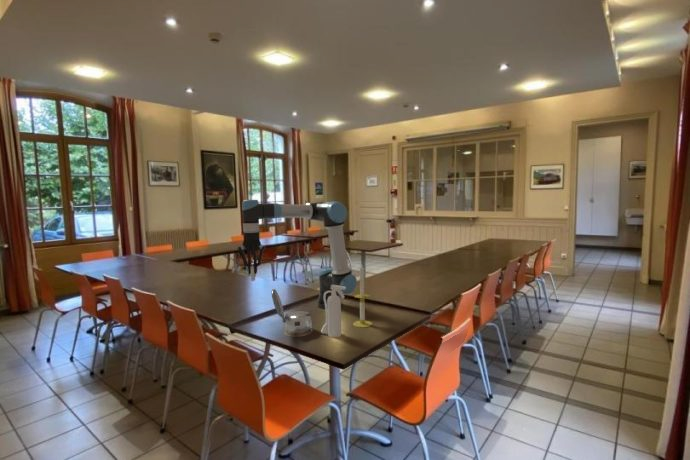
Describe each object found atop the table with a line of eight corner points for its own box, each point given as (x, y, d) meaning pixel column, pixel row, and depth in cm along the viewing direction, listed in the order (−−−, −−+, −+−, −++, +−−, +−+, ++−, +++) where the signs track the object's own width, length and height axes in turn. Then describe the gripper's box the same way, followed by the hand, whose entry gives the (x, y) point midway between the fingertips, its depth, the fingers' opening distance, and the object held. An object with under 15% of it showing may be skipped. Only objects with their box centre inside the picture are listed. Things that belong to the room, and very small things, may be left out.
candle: (349, 323, 190) (348, 262, 187) (363, 319, 196) (363, 260, 193) (361, 329, 182) (360, 265, 179) (376, 324, 187) (375, 263, 185)
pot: (311, 323, 189) (311, 309, 188) (311, 337, 170) (311, 320, 170) (285, 325, 187) (284, 310, 187) (281, 338, 169) (281, 322, 169)
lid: (275, 286, 183) (271, 287, 183) (272, 293, 169) (267, 294, 169) (285, 312, 185) (281, 314, 185) (282, 321, 171) (278, 323, 171)
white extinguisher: (323, 331, 179) (323, 282, 176) (346, 334, 175) (347, 284, 172) (318, 336, 172) (318, 286, 169) (342, 340, 169) (342, 288, 166)
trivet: (312, 326, 186) (312, 325, 186) (312, 336, 173) (312, 335, 173) (285, 327, 185) (285, 326, 185) (283, 338, 171) (283, 337, 171)
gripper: (266, 230, 177) (267, 278, 179) (239, 231, 176) (241, 278, 178) (263, 232, 170) (265, 281, 172) (235, 232, 169) (237, 282, 171)
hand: (253, 280), depth 175 cm, fingers closed
